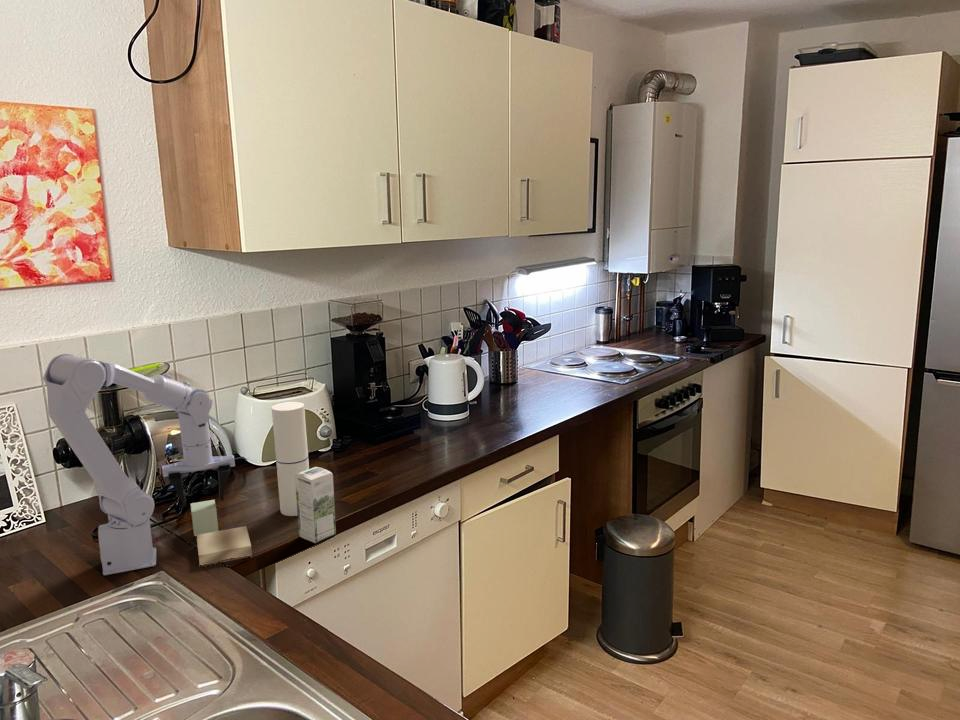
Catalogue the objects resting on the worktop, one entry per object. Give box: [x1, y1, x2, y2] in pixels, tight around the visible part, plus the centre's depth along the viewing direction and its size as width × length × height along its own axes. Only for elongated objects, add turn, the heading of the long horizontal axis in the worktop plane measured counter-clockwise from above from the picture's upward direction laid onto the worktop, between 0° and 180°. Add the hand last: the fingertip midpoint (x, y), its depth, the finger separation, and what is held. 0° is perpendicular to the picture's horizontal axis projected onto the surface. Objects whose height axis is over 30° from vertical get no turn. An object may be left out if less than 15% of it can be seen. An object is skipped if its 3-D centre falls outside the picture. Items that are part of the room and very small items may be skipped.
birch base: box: [196, 525, 253, 566], centre depth 154 cm, size 10×10×3 cm
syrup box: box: [295, 466, 337, 544], centre depth 159 cm, size 6×6×14 cm
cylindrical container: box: [271, 401, 310, 517], centre depth 171 cm, size 7×7×25 cm
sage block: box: [190, 499, 220, 537], centre depth 163 cm, size 5×5×6 cm
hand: (203, 501), depth 162 cm, fingers open, 7 cm apart
